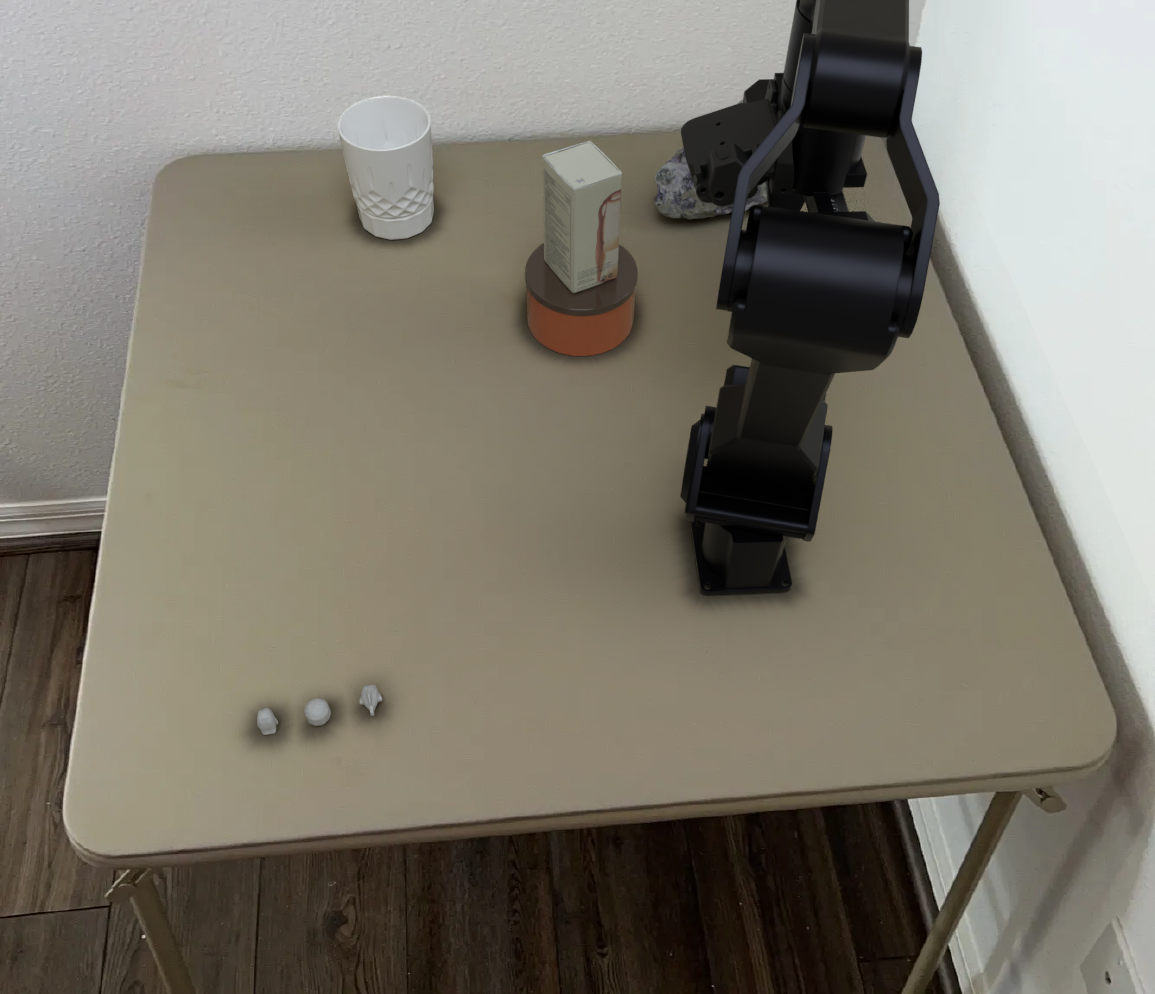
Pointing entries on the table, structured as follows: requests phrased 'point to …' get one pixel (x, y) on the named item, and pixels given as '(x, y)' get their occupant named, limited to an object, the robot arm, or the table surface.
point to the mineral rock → (689, 192)
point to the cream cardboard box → (581, 215)
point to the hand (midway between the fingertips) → (788, 276)
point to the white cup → (389, 164)
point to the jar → (580, 308)
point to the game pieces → (318, 710)
